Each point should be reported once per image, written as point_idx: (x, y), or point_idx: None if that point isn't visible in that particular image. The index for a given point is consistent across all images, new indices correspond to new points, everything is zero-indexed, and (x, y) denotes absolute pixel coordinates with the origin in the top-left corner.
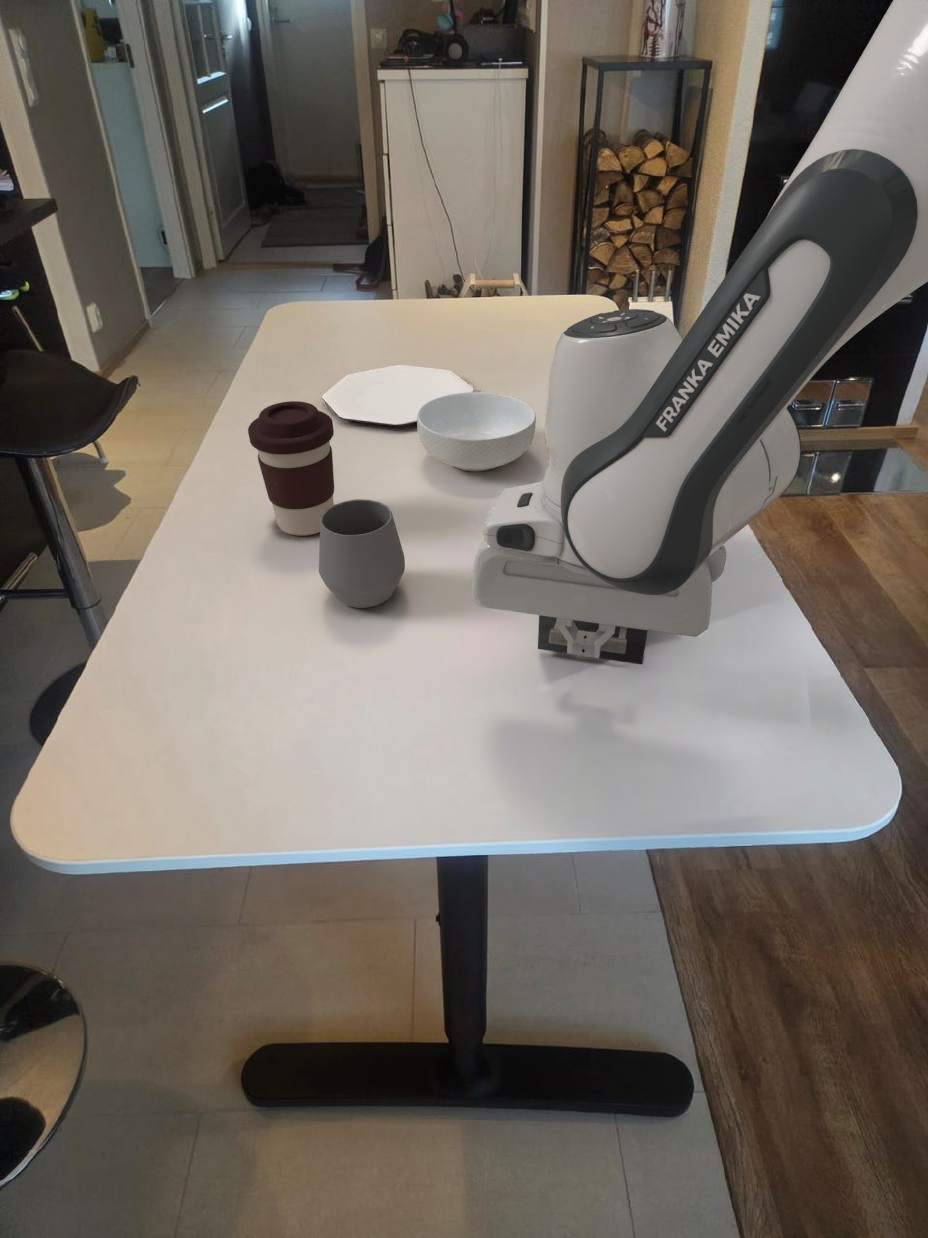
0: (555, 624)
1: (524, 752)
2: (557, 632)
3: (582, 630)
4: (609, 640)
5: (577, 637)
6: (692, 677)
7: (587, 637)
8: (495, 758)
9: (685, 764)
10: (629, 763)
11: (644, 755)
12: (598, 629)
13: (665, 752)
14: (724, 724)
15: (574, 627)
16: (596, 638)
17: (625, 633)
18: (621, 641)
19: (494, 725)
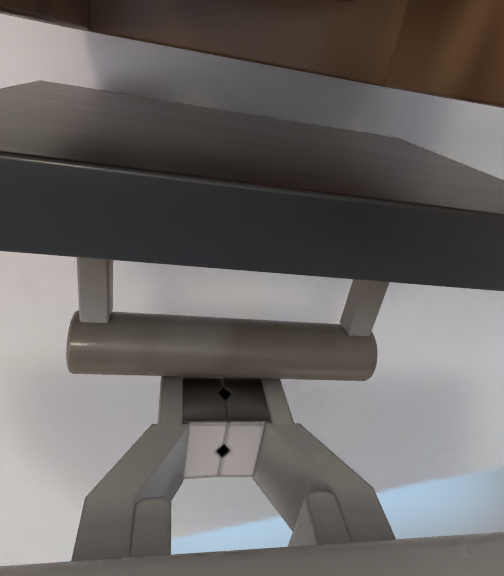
0: (80, 296)
1: (103, 435)
2: (101, 369)
3: (209, 422)
4: (312, 377)
5: (191, 460)
6: (500, 174)
7: (231, 451)
8: (49, 455)
9: (395, 406)
10: (300, 421)
11: (329, 402)
12: (278, 445)
13: (368, 390)
14: (501, 313)
15: (174, 459)
16: (267, 481)
17: (378, 308)
18: (355, 377)
19: (15, 390)
